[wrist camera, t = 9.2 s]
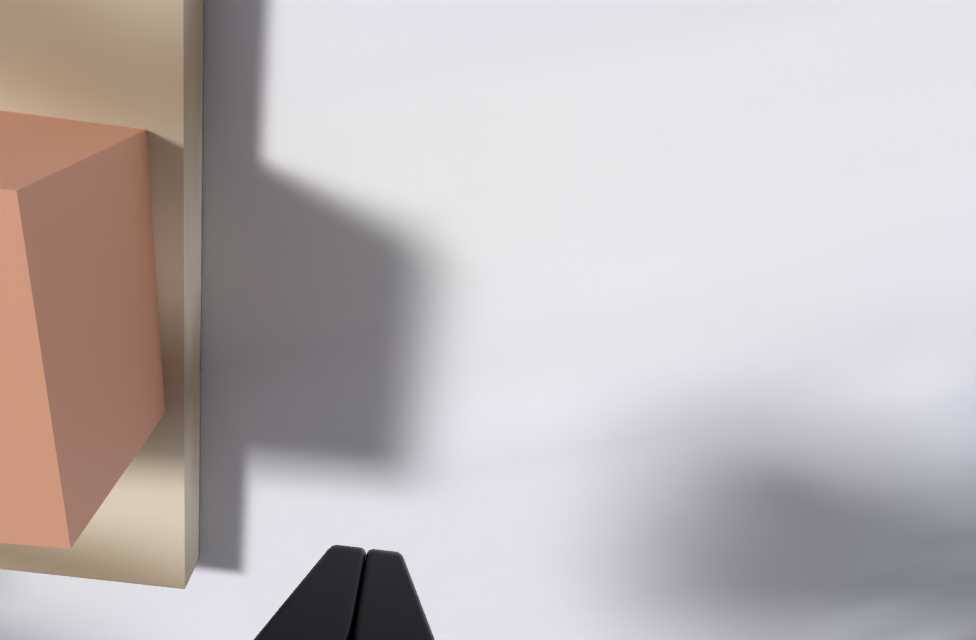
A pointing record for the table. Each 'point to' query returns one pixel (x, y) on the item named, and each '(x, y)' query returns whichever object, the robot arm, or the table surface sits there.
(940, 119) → the table surface
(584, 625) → the table surface
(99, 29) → the shelf
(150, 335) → the pink rectangular block
